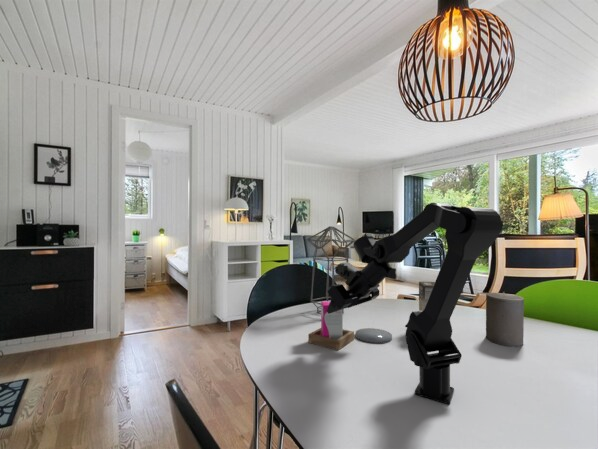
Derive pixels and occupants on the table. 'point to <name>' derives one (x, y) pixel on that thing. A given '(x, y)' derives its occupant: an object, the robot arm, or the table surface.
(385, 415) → the table surface
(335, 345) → the wooden tray
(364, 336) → the slate pad
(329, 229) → the geometric lantern
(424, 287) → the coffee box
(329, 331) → the supplement box
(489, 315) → the pillar candle
